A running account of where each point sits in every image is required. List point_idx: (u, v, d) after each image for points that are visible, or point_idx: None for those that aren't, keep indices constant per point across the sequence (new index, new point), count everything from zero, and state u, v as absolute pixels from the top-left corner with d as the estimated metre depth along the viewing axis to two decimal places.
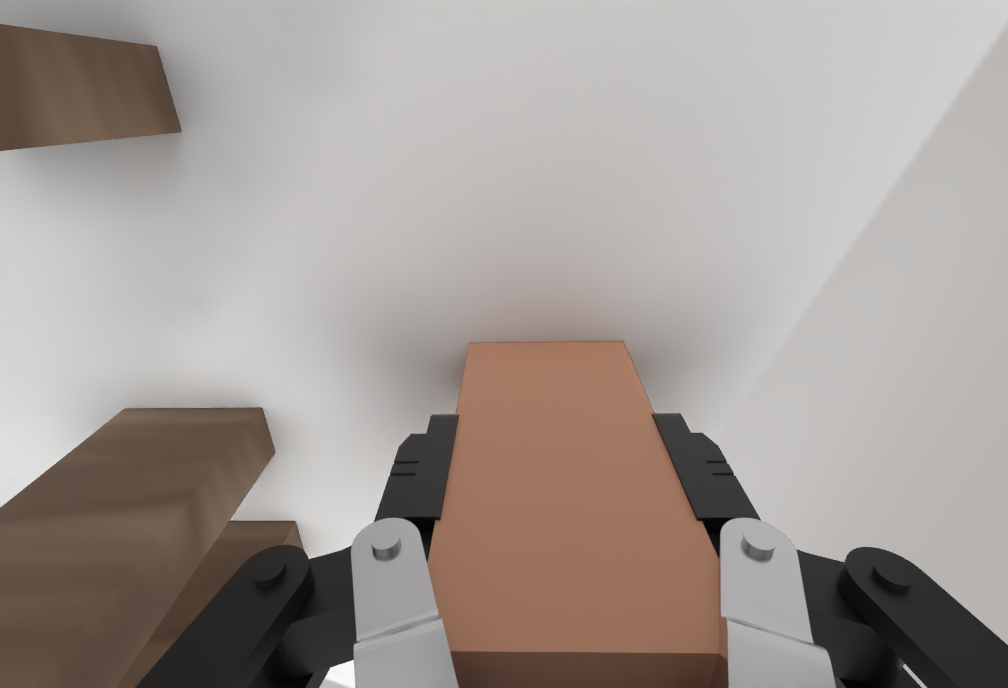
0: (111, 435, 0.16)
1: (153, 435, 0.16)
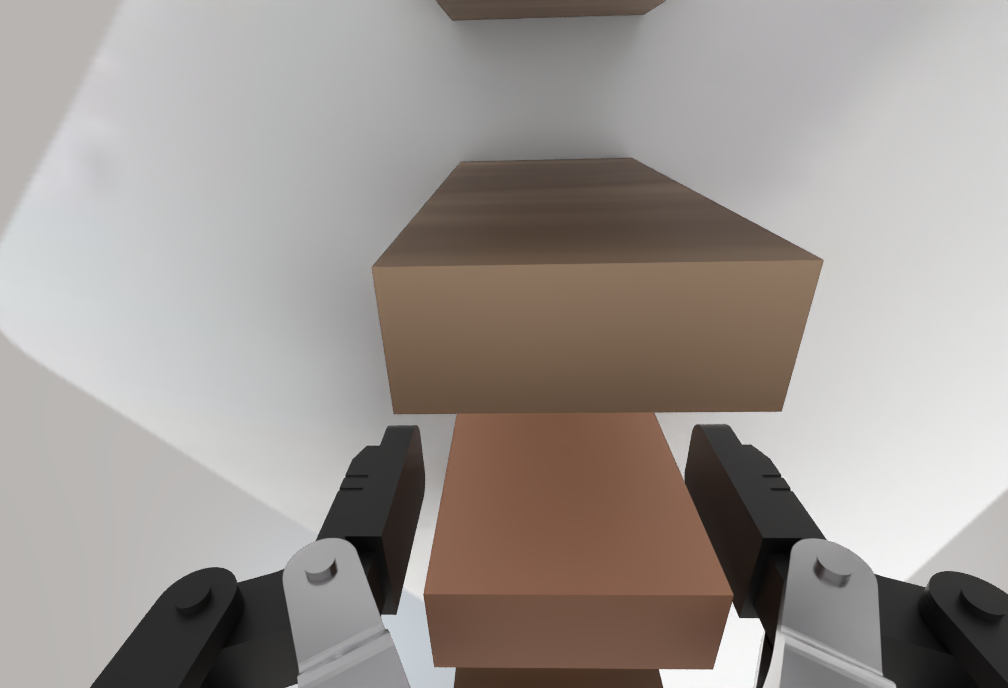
0: None
1: None
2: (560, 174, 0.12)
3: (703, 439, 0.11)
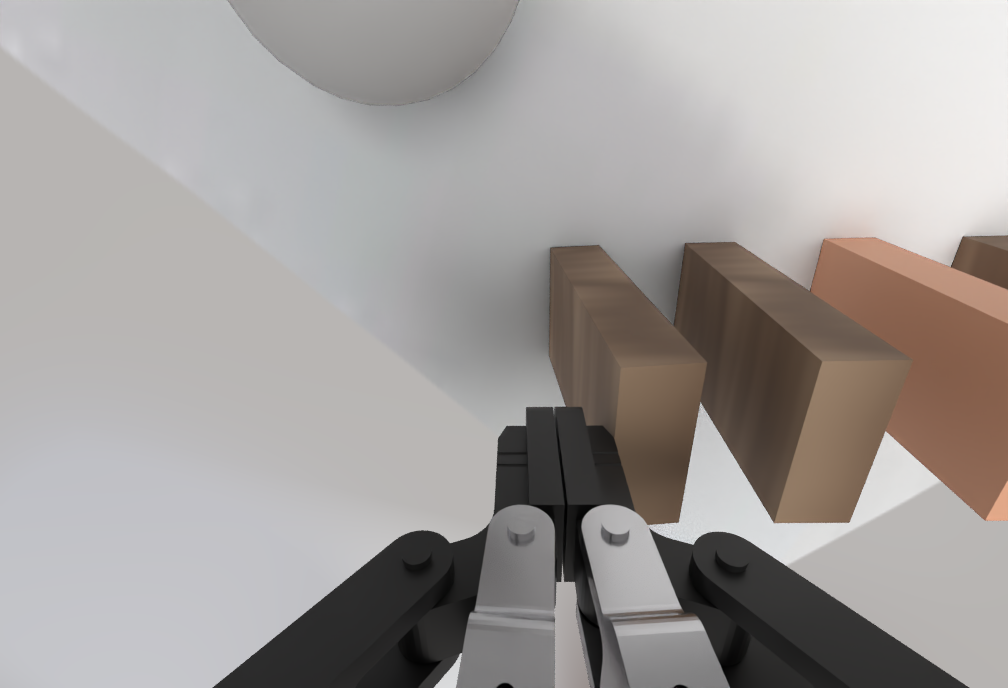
0: None
1: None
2: (702, 326, 0.18)
3: (556, 420, 0.12)
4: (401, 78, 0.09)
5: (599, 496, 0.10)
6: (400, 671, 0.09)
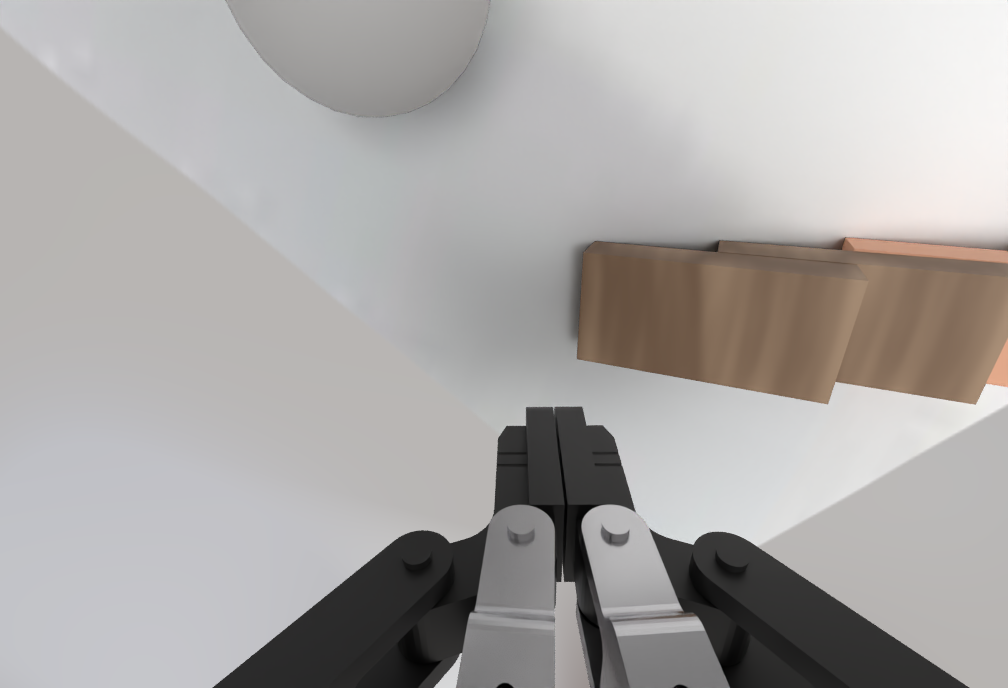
0: None
1: None
2: None
3: (556, 420, 0.12)
4: (382, 95, 0.11)
5: (599, 496, 0.10)
6: (400, 671, 0.09)
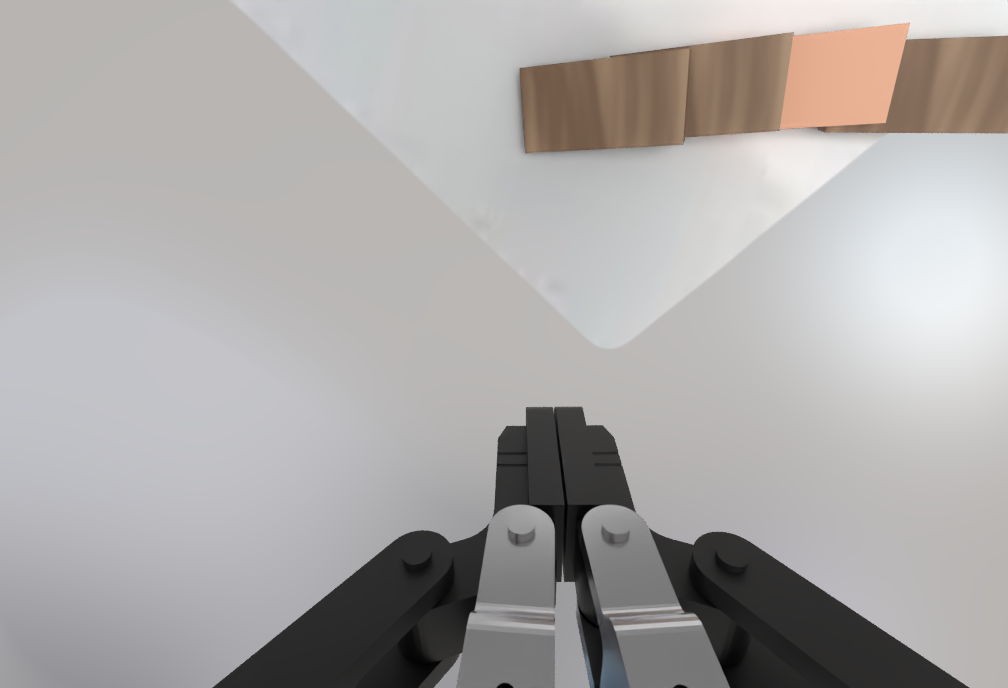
0: None
1: None
2: None
3: (556, 420, 0.12)
4: None
5: (599, 496, 0.10)
6: (400, 671, 0.09)
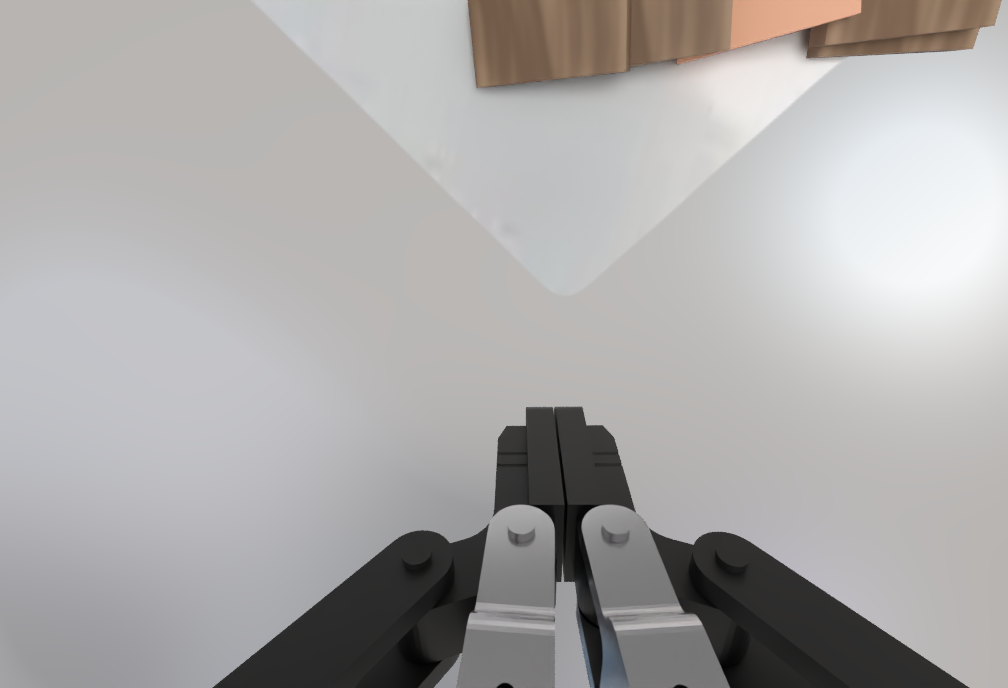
0: (852, 28, 0.30)
1: None
2: None
3: (556, 420, 0.12)
4: None
5: (599, 496, 0.10)
6: (400, 670, 0.09)
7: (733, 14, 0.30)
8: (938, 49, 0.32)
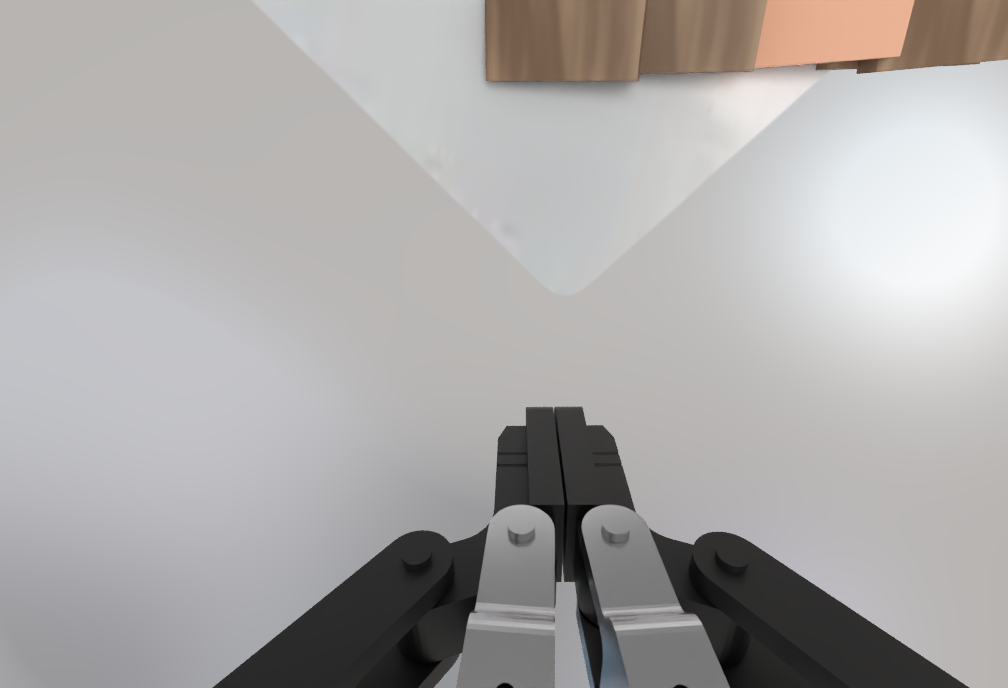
0: (904, 56, 0.31)
1: (910, 30, 0.30)
2: None
3: (556, 420, 0.12)
4: None
5: (599, 496, 0.10)
6: (400, 670, 0.09)
7: (782, 32, 0.31)
8: None
